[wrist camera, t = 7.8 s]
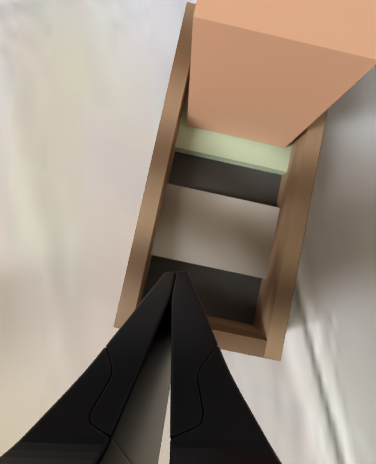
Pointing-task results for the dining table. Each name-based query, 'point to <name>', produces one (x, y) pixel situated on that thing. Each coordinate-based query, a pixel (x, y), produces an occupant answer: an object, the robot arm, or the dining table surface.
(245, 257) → the box
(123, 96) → the dining table surface
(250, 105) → the block
